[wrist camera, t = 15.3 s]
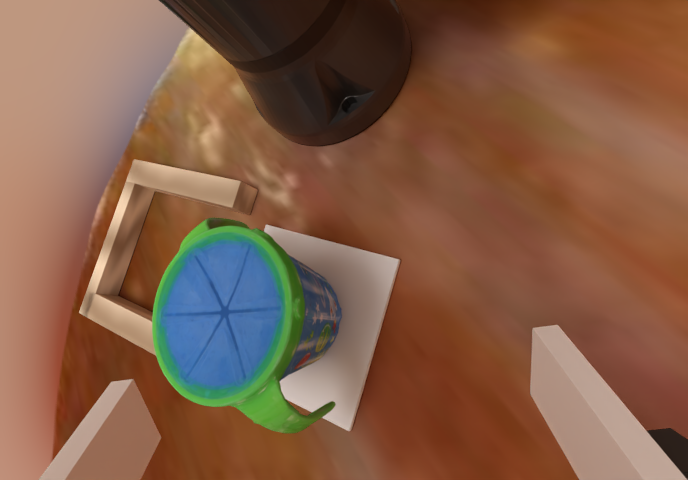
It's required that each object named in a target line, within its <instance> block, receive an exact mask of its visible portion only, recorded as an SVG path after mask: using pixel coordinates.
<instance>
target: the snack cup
mask: <svg viewBox="0 0 688 480" xmlns="http://www.w3.org/2000/svg"><path fill="white" fill-rule="evenodd" d="M341 310H342V309H341V307H340V305H339V302H338V299H337V295H336V293H335V292H334V290H333V288H332V287H331V285H330V284H329V283H328V282H327V280H326V279H325V278H324V277H323V276H321V275H320V274H319V273H316V272H315V271H314V270H312V269H311V268H309V267H308V266H306V265H305V264H303V263H302V262H300V261H298V260H296V259H295V258H294V257H292V256H290V255H288V254H287V253H286V251H285V250H284V249H283V248H282V247H281V246H280V245H279V244H277V243H276V242H275V241H274V239H273V238H272V237H271V236H270V235H269V234H267V233H265V232H264V231H261V230H259V229H257V228H255V229H253V230H251V229H249V227H248V226H247V225H246V224H244V223H242V222H240V221H235V220H230V219H223V218H208V219H206V220H204V221H203V222H202V223H200V224H199V225H198V226H197V227H196V228H194V229H193V230H192V231H191V232H190V233H189V234H188V235H187V236H186V237H185V239H184V240H183V242H182V243H181V246H180V250H179V252H178V253H177V255H176V256H175V257H174V259H173V260H172V261H171V263H170V264H169V266H168V267H167V269H166V271H165V273H164V275H163V277H162V279H161V282H160V285H159V288H158V290H157V294H156V298H155V303H154V308H153V315H152V335H153V344H154V349H155V353H156V356H157V359H158V362H159V364H160V367H161V369H162V371H163V373H164V375H165V376H166V378H167V379H168V381H169V382H170V383H171V385H172V386H173V387H174V388H175V389H176V390H177V391H178V392H179V393H180V394H181V395H183V396H184V397H186V398H187V399H189V400H191V401H192V402H195V403H198V404H200V405H204V406H212V407H220V406H233V407H236V408H237V409H238V410H241V411H242V412H243V413H244V414H245V415H246V416H247V417H249V418H250V419H252V420H253V421H254V423H256V424H260V425H262V426H263V427H266V428H267V429H270V430H272V431H277V432H281V433H297V432H300V431H302V430H304V429H305V428H307V427H308V426H309V425H310V424H312V423H314V422H315V421H317V420H319V419H320V418H322V417H323V416H325V415H326V414H327V413H329V412H330V411H331V410H333V408H334V407H335V405H336V404H335V402H333V401H331V402H329V403H327V404H325V405H323V406H322V407H320V408H318V409H317V410H315V411H314V412H312V413H311V414H309V415H308V416H305V415H302V414H300V413H299V412H298V411H297V410H296V409H295V408H294V407H293V406H292V405H290V404H289V403H288V401H286V400H285V397H284V395H283V393H282V391H281V386H280V381H281V380H282V379H284V378H285V377H286V376H288V375H290V374H292V373H294V372H296V371H298V370H300V369H302V368H304V367H306V366H308V365H310V364H312V363H314V362H315V361H317V360H319V359H320V358H322V357H323V356H324V355H325V353H326V352H327V351H328V350H329V348H330V347H331V345H332V344H333V342H334V341H335V338H336V336H337V334H338V330H339V323H340V321H341V318H342V312H341Z"/></svg>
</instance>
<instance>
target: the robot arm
mask: <svg viewBox="0 0 688 480" xmlns="http://www.w3.org/2000/svg"><path fill="white" fill-rule="evenodd" d="M159 1H160V2H161V3H163V4H164V5H165V6H166V7H167V8H168V9H169V10H170V11H172V12H173V13H174V14H175V15H176V16H177V17H178V18H180V19H181V20H182V21H183V22H184V23H185V24H186V25H188V26H189V27H190V28H191V29H192V30H193V31H194V32H195V33H197V34H198V35H199V36H200V37H201V38H202V39H203V40H205V41H206V42H207V43H208V44H209V45H210V46H211V47H212V48H214V49H215V50H216V51H217V52H218V53H219V54H220V55H222V56H223V57H224V58H225V59H226V60H227V61H228V62H229V63H230V64H232V65H233V66H234V67H235V69H236V71H237V73H238V74H239V76H240V78H241V80H242V81H243V83H244V85H245V87H246V89H247V90H248V92H249V94H250V95H251V97H252V99H253V101H254V103H255V105H256V108H257V110H258V111H259V113H260V114H261V116H262V117H263V118H264V119H265V121H266V122H267V123H268V124H269V125H270V126H272V127H273V128H274V129H275V130H277V131H278V132H279V133H280V134H282V135H283V136H284V137H286V138H287V139H289V140H291V141H293V142H296V143H299V144H303V145H310V146H321V145H329V144H333V143H337V142H340V141H343V140H345V139H348V138H350V137H352V136H354V135H356V134H357V133H359V132H361V131H362V130H364V129H365V128H367V127H368V126H369V125H371V124H372V123H373V122H374V121H375V120H376V119H377V118H379V117H380V116H381V115H382V114H383V112H384V111H385V110H386V109H387V108H388V107H389V105H390V104H391V103H392V101H393V100H394V98H395V97H396V95H397V94H398V92H399V90H400V88H401V86H402V84H403V82H404V80H405V78H406V75H407V72H408V68H409V64H410V59H411V38H410V33H409V29H408V26H407V24H406V21H405V19H404V16H403V14H402V12H401V9H400V7H399V5H398V3H397V2H396V0H159ZM530 395H531V397H532V398H533V400H534V402H535V404H536V405H537V407H538V409H539V411H540V412H541V414H542V416H543V417H544V419H545V421H546V423H547V424H548V426H549V428H550V430H551V431H552V433H553V435H554V437H555V438H556V440H557V442H558V444H559V445H560V447H561V449H562V451H563V452H564V454H565V456H566V458H567V459H568V461H569V463H570V465H571V466H572V468H573V470H574V472H575V473H576V475H577V477H578V479H579V480H688V440H687V439H686V438H684V437H683V436H681V435H680V434H679V433H677V432H676V431H674V430H673V429H671V428H668V429H658V430H649V431H646V430H645V429H644V427H643V426H642V425H641V424H640V423H639V421H638V420H637V419H636V418H635V417H634V415H633V414H632V413H631V412H630V411H629V410H628V408H627V407H626V406H625V405H624V404H623V402H622V401H621V400H620V399H619V398H618V396H617V395H616V394H615V393H614V392H613V390H612V389H611V388H610V387H609V386H608V384H607V383H606V382H605V381H604V380H603V378H602V377H601V376H600V375H599V374H598V372H597V371H596V370H595V369H594V368H593V367H592V365H591V364H590V363H589V362H588V361H587V359H586V358H585V357H584V356H583V355H582V353H581V352H580V351H579V350H578V349H577V347H576V346H575V345H574V344H573V343H572V341H571V340H570V339H569V338H568V337H567V335H566V334H565V333H564V332H563V331H562V330H561V328H560V327H559V326H558V325H552V326H544V327H536V328H533V330H532V356H531V383H530ZM160 439H161V436H160V434H159V432H158V430H157V428H156V426H155V424H154V422H153V419H152V417H151V415H150V413H149V411H148V409H147V407H146V405H145V403H144V401H143V399H142V396H141V394H140V392H139V390H138V388H137V386H136V384H135V382H134V380H133V379H130V380H122V381H115V382H111V383H110V385H109V386H108V387H107V389H106V390H105V391H104V393H103V394H102V395H101V397H100V398H99V399H98V401H97V402H96V403H95V405H94V406H93V407H92V409H91V410H90V411H89V413H88V414H87V415H86V417H85V418H84V419H83V421H82V422H81V423H80V425H79V426H78V427H77V429H76V430H75V432H74V433H73V434H72V436H71V437H70V438H69V440H68V441H67V442H66V444H65V445H64V446H63V448H62V449H61V450H60V452H59V453H58V454H57V456H56V457H55V458H54V460H53V461H52V462H51V464H50V465H49V466H48V468H47V469H46V470H45V472H44V473H43V475H42V476H41V477H40V479H39V480H140V479H141V477H142V475H143V473H144V471H145V469H146V467H147V465H148V463H149V461H150V459H151V457H152V455H153V453H154V451H155V449H156V447H157V445H158V443H159V441H160Z"/></svg>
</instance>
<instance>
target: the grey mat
mask: <svg viewBox="0 0 688 480" xmlns="http://www.w3.org/2000/svg"><path fill="white" fill-rule="evenodd" d="M264 232H265V233H267V234H269V235H270V236H271V237H272V238H273V239H274V241H275V242H276V243H277V244H279V245H280V246H281V247H282V248H283V249H284V250H285V251H286V253H287V254H288V255H290V256H292V257H294V258H295V259H296V260H298V261H300V262H302V263H303V264H305V265H306V266H308V267H309V268H311V269H312V270H314V271H315V272H316V273H319V274H320V275H321V276H323V277H324V278H325V279H326V280H327V282H328V283H329V284H330V285H331V287H332V288H333V290H334V292H335V293H336V295H337V299H338V302H339V305H340V307H341V309H342V310H341V312H342V318H341V321H340V323H339V330H338V334H337V336H336V338H335V341H334V342H333V344H332V345H331V347H330V348H329V350H328V351H327V352H326V353H325V355H324V356H323V357H322V358H320V359H319V360H317V361H315V362H314V363H312V364H310V365H308V366H306V367H304V368H302V369H300V370H298V371H296V372H294V373H292V374H290V375H288V376H286V377H285V378H284V379H282V380H281V381H280V386H281V391H282V393H283V395H284V397H285V399H287V400H289V401H291V402H293V403H294V404H296V405H298V406H300V407H302V408H304V409H306V410H308V411H310V412H314V411H315V410H317V409H318V408H320V407H322V406H323V405H325V404H327V403H329V402H331V401H333V402H335V404H336V405H335V407H334V408H333V410H331V411H330V412H329V413H327V414H326V415H325V416H323V417H322V418H324V419H326V420H328V421H330V422H332V423H334V424H335V425H337V426H339V427H341V428H343V429H345V430H347V431H351V430H352V427H353V423H354V420H355V416H356V413H357V410H358V406H359V403H360V399H361V396H362V392H363V389H364V385H365V382H366V379H367V375H368V372H369V368H370V365H371V361H372V358H373V354H374V351H375V347H376V344H377V341H378V337H379V334H380V330H381V327H382V323H383V320H384V316H385V313H386V310H387V306H388V303H389V299H390V296H391V292H392V289H393V285H394V282H395V278H396V275H397V272H398V268H399V265H400V261H401V260H399V259H396V258H392V257H388V256H384V255H380V254H377V253H373V252H369V251H365V250H361V249H357V248H354V247H350V246H346V245H342V244H338V243H335V242H331V241H327V240H323V239H319V238H316V237H312V236H308V235H304V234H300V233H297V232H293V231H289V230H285V229H281V228H278V227H274V226H270V225H266V226H265V230H264Z"/></svg>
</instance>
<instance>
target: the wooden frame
mask: <svg viewBox="0 0 688 480" xmlns="http://www.w3.org/2000/svg"><path fill="white" fill-rule="evenodd" d="M155 191H157V192H161V193H165V194H169V195H173V196H177V197H181V198H185V199H188V200H192V201H196V202H200V203H204V204H208V205H212V206H216V207H220V208H224V209H228V210H232V211H236V212H240V213H243V214H247V215H250V213H251V210H252V207H253V204H254V201H255V198H256V195H257V192H258V190H257V189H255V188H253V187H251V186H249V185H247V184H245V183H243V182H241V181H237V180H233V179H228V178H223V177H218V176H213V175H208V174H203V173H198V172H194V171H189V170H184V169H179V168H174V167H169V166H164V165H159V164H154V163H150V162H145V161H140V160H135V159H134V161H133V164H132V166H131V169H130V172H129V175H128V177H127V180H126V183H125V186H124V189H123V191H122V194H121V197H120V200H119V202H118V205H117V208H116V211H115V214H114V216H113V219H112V222H111V225H110V228H109V230H108V233H107V236H106V239H105V241H104V244H103V247H102V250H101V253H100V255H99V258H98V261H97V264H96V266H95V269H94V272H93V275H92V278H91V280H90V283H89V286H88V289H87V291H86V294H85V297H84V300H83V303H82V305H81V308H80V311H79V313H80V314H82V315H84V316H85V317H87V318H89V319H91V320H93V321H94V322H96V323H98V324H100V325H102V326H103V327H105V328H107V329H109V330H111V331H113V332H114V333H116V334H118V335H120V336H122V337H123V338H125V339H127V340H129V341H131V342H132V343H134V344H136V345H138V346H140V347H141V348H143V349H145V350H147V351H149V352H150V353H152V354H154V355H156V353H155V349H154V344H153V335H152V315H153V312H151V311H149V310H147V309H145V308H143V307H141V306H139V305H137V304H134V303H132V302H130V301H128V300H126V299H124V298H122V297H120V296H118V294H119V291H120V289H121V286H122V283H123V280H124V277H125V274H126V272H127V269H128V266H129V263H130V260H131V257H132V255H133V252H134V249H135V246H136V243H137V240H138V238H139V235H140V232H141V229H142V226H143V223H144V220H145V218H146V215H147V212H148V209H149V206H150V203H151V201H152V198H153V195H154V192H155Z"/></svg>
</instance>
